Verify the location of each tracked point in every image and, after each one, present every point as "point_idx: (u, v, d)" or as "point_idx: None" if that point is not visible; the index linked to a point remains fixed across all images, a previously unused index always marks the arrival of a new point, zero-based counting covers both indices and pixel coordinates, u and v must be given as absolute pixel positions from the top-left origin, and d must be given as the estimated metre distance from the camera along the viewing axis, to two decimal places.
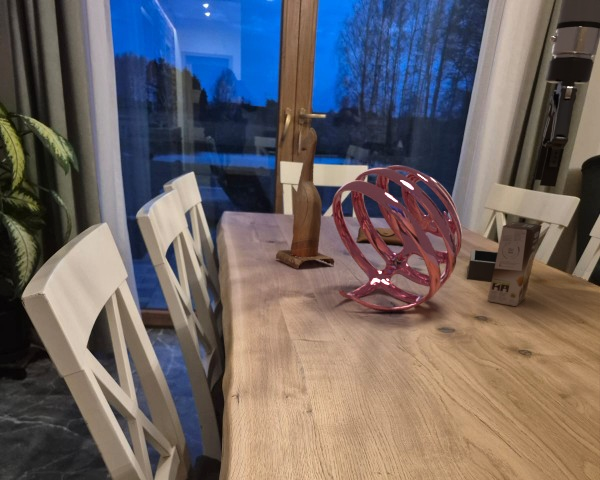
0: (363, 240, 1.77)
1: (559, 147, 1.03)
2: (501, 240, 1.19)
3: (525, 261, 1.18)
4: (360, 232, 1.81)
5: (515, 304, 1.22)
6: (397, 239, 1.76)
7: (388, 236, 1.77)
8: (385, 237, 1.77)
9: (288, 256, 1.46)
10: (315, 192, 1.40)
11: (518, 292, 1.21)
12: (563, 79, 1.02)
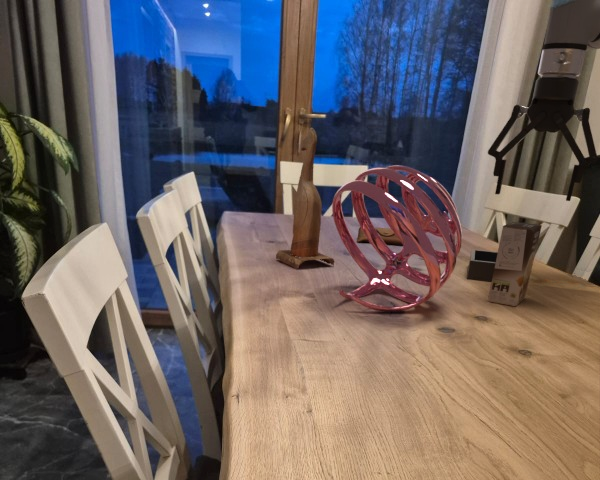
0: (363, 240, 1.78)
1: (586, 164, 1.11)
2: (501, 240, 1.19)
3: (525, 261, 1.18)
4: (360, 232, 1.81)
5: (515, 304, 1.22)
6: (397, 239, 1.76)
7: (388, 236, 1.77)
8: (385, 237, 1.77)
9: (288, 256, 1.46)
10: (315, 192, 1.40)
11: (518, 292, 1.21)
12: (573, 100, 1.07)
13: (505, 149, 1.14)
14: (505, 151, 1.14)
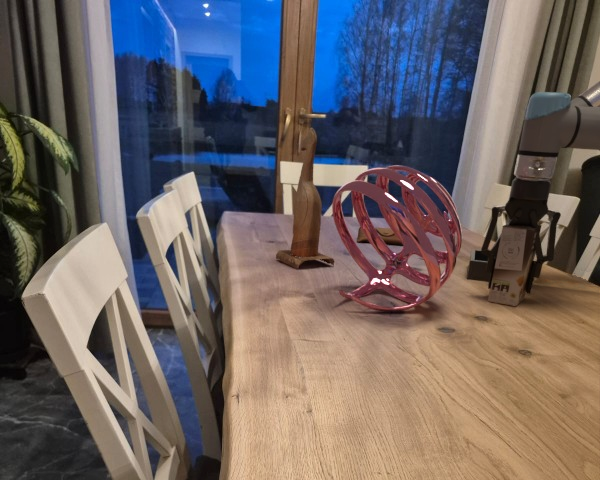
0: (363, 240, 1.78)
1: None
2: (501, 240, 1.19)
3: (525, 261, 1.18)
4: (360, 232, 1.81)
5: (515, 304, 1.22)
6: (397, 239, 1.77)
7: (388, 235, 1.77)
8: (385, 237, 1.77)
9: (288, 256, 1.46)
10: (315, 192, 1.40)
11: (518, 292, 1.21)
12: (547, 199, 1.16)
13: (495, 248, 1.22)
14: (496, 250, 1.23)
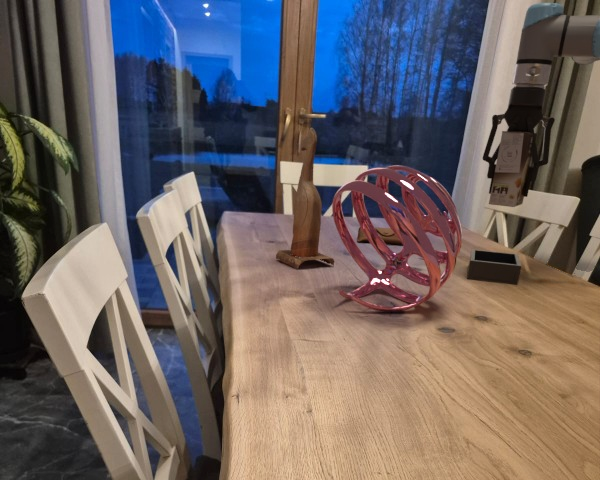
0: (364, 240, 1.78)
1: (539, 166, 1.35)
2: (501, 145, 1.32)
3: (522, 163, 1.31)
4: (360, 232, 1.81)
5: (513, 205, 1.35)
6: (397, 239, 1.77)
7: (388, 235, 1.77)
8: (385, 237, 1.77)
9: (288, 256, 1.46)
10: (315, 192, 1.40)
11: (516, 193, 1.34)
12: (542, 106, 1.29)
13: (495, 154, 1.35)
14: (496, 156, 1.35)
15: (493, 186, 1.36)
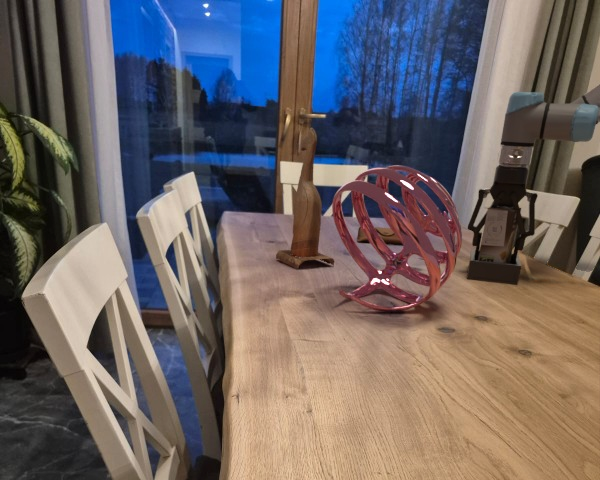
0: (364, 240, 1.78)
1: None
2: (486, 220, 1.40)
3: (507, 238, 1.39)
4: (360, 232, 1.81)
5: None
6: (398, 238, 1.77)
7: (388, 235, 1.77)
8: (386, 237, 1.78)
9: (288, 256, 1.46)
10: (315, 192, 1.40)
11: None
12: (525, 183, 1.36)
13: (480, 225, 1.43)
14: (480, 226, 1.43)
15: (479, 257, 1.43)
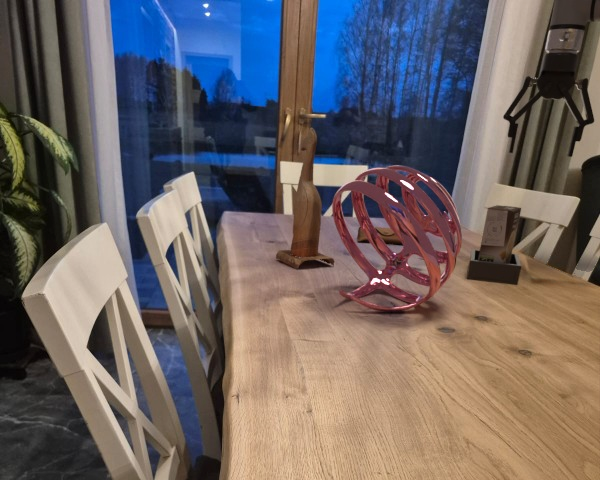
0: (364, 240, 1.78)
1: (584, 126, 1.35)
2: (486, 220, 1.40)
3: (507, 238, 1.39)
4: (360, 232, 1.81)
5: None
6: (398, 238, 1.77)
7: (388, 235, 1.78)
8: (386, 237, 1.78)
9: (288, 256, 1.46)
10: (315, 192, 1.40)
11: None
12: None
13: (518, 114, 1.37)
14: (518, 116, 1.37)
15: (479, 257, 1.43)
